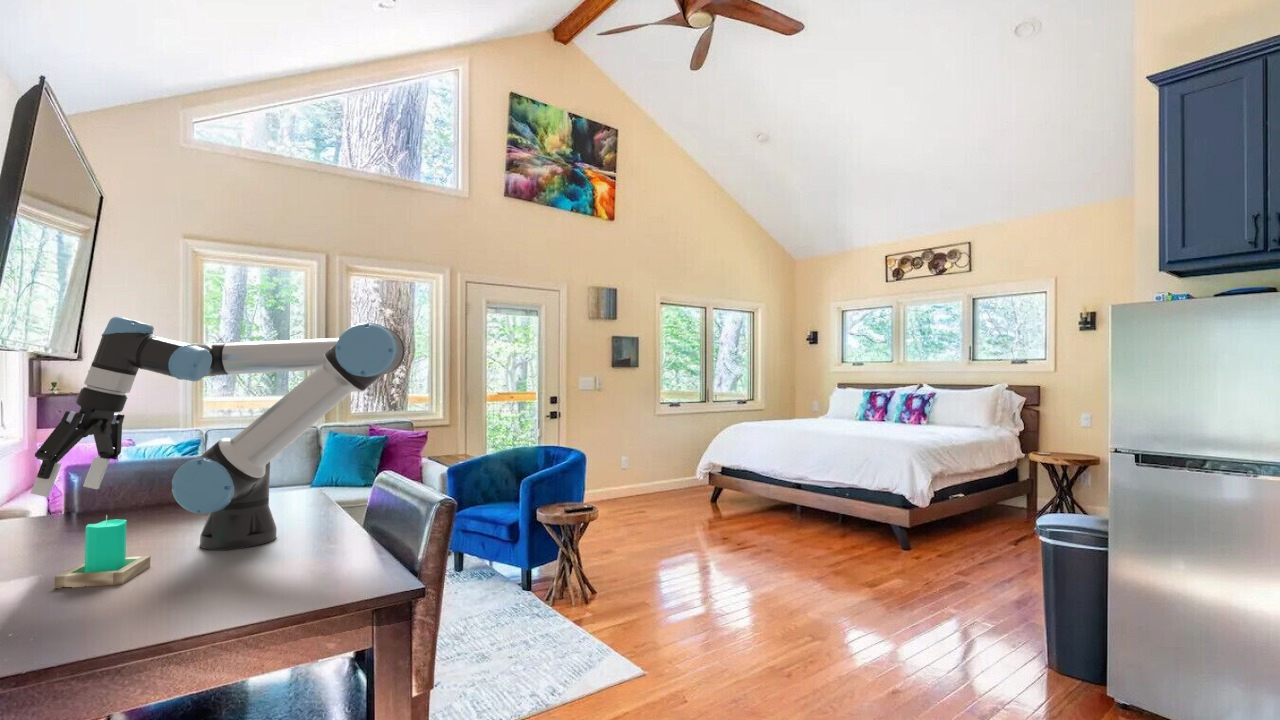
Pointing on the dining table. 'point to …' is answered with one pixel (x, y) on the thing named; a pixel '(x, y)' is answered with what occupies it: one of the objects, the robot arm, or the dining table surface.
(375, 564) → the dining table surface
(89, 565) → the candle
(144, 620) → the dining table surface
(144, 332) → the robot arm
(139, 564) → the holder collar
